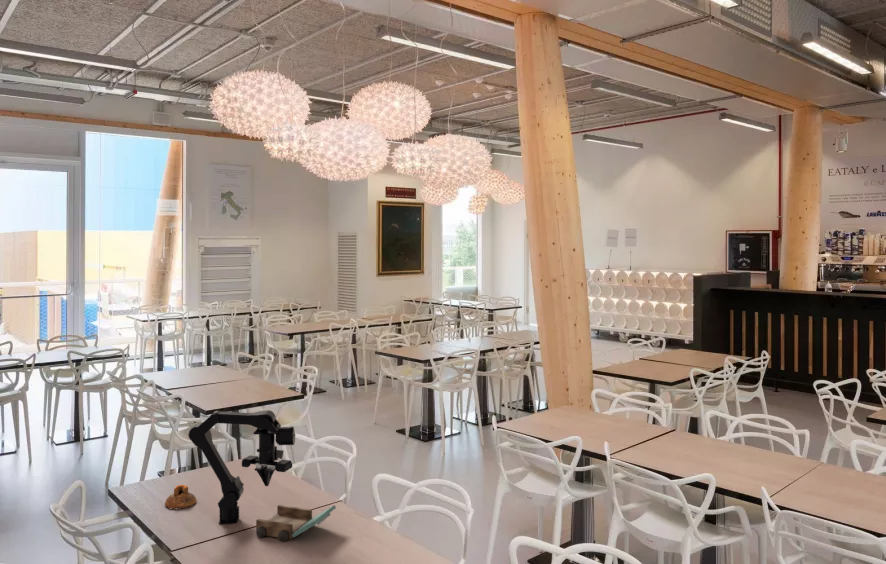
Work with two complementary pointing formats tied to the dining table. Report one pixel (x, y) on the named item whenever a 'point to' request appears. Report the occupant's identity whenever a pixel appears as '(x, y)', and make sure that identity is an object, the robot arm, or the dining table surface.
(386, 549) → the dining table surface
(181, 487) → the bell
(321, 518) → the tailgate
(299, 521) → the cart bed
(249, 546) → the dining table surface
